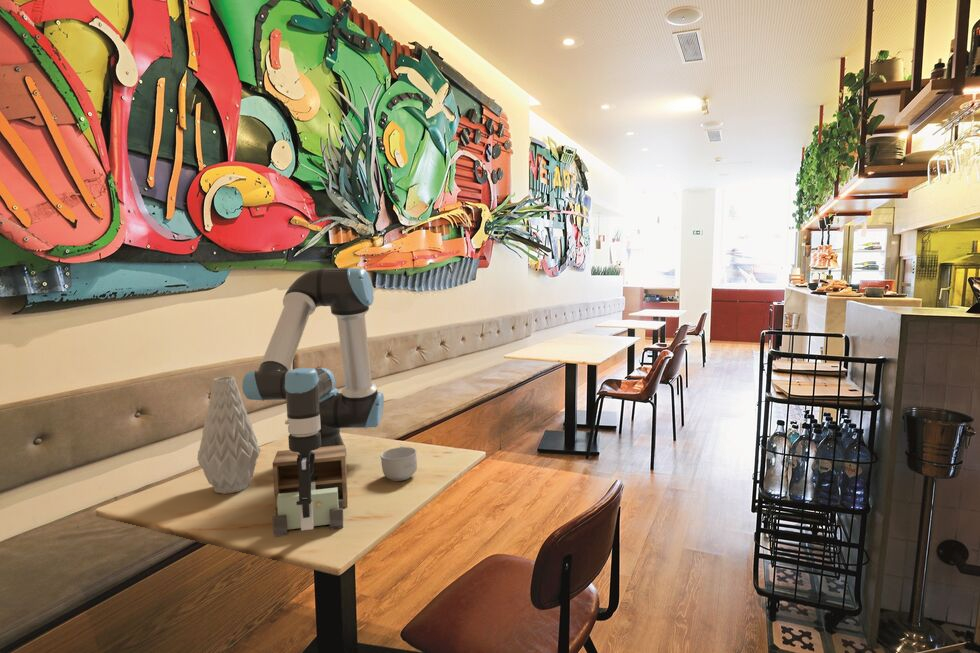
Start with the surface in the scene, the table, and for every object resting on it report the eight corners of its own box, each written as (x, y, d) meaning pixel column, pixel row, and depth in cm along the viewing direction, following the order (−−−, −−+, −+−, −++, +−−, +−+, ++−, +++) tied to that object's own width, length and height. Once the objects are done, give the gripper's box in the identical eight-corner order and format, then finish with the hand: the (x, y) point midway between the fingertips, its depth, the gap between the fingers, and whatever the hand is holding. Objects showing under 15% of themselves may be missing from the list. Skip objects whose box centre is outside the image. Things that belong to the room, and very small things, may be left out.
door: (280, 525, 137) (278, 493, 136) (339, 517, 140) (337, 487, 139) (278, 532, 133) (276, 500, 132) (338, 524, 136) (337, 493, 136)
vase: (191, 489, 163) (182, 378, 160) (248, 473, 175) (241, 370, 171) (211, 505, 151) (202, 386, 148) (271, 487, 163) (264, 377, 160)
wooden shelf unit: (280, 500, 153) (277, 451, 152) (347, 492, 158) (345, 444, 156) (269, 537, 132) (265, 480, 130) (347, 527, 136) (344, 471, 135)
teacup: (410, 485, 162) (409, 458, 162) (375, 483, 165) (374, 456, 164) (425, 468, 176) (424, 443, 175) (393, 466, 178) (392, 442, 177)
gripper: (293, 420, 146) (297, 499, 148) (282, 449, 122) (288, 542, 124) (322, 418, 147) (327, 496, 150) (318, 446, 124) (322, 538, 126)
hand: (309, 517), depth 137 cm, fingers open, 12 cm apart
